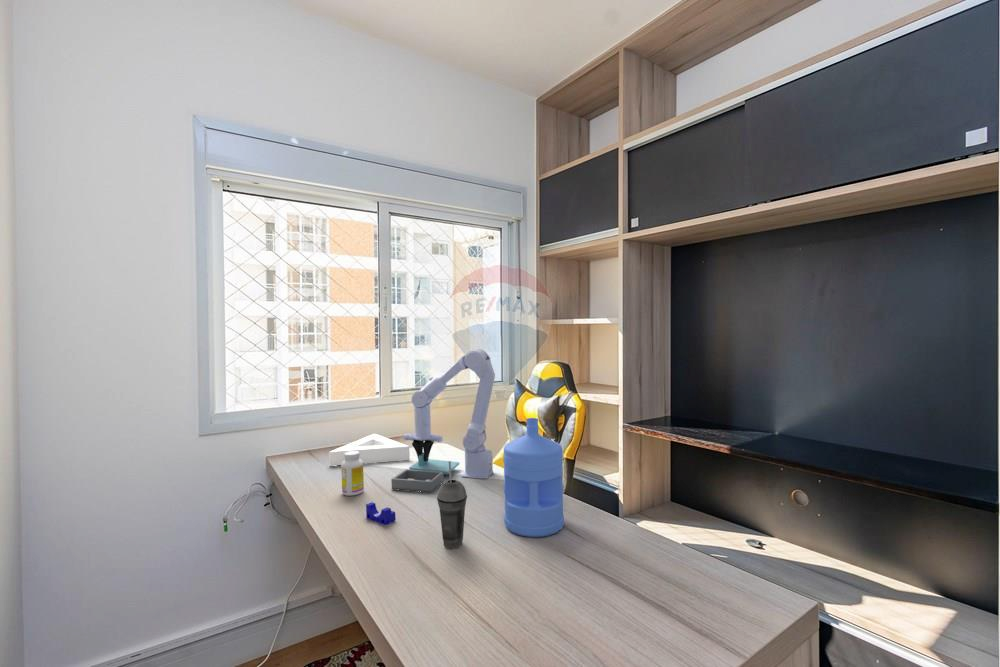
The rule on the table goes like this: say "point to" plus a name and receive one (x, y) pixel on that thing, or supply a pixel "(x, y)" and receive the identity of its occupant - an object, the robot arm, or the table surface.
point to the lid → (433, 465)
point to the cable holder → (383, 518)
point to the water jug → (533, 484)
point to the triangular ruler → (372, 450)
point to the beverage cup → (452, 511)
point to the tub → (417, 480)
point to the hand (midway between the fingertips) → (423, 460)
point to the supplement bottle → (352, 474)
